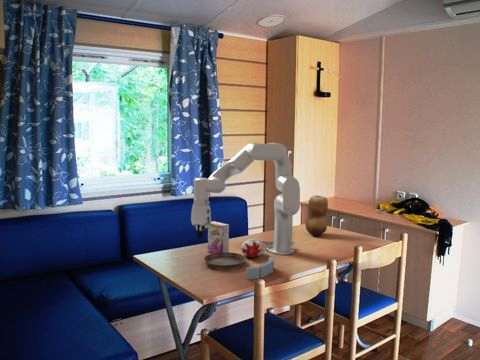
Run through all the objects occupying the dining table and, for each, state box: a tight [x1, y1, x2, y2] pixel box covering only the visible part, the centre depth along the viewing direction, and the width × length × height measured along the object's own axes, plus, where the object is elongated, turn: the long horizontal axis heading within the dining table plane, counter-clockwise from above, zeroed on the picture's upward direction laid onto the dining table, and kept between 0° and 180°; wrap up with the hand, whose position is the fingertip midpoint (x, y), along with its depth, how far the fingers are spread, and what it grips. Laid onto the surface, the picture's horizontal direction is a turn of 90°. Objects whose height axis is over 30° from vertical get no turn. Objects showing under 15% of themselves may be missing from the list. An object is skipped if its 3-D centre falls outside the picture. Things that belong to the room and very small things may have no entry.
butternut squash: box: [304, 194, 329, 237], centre depth 269 cm, size 14×13×25 cm
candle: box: [240, 238, 263, 258], centre depth 225 cm, size 9×11×15 cm
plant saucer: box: [203, 252, 247, 270], centre depth 214 cm, size 21×21×3 cm
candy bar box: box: [207, 220, 230, 254], centre depth 229 cm, size 11×5×16 cm, turn 51°
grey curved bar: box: [245, 256, 275, 281], centre depth 201 cm, size 21×5×5 cm, turn 144°
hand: (199, 237), depth 221 cm, fingers closed
